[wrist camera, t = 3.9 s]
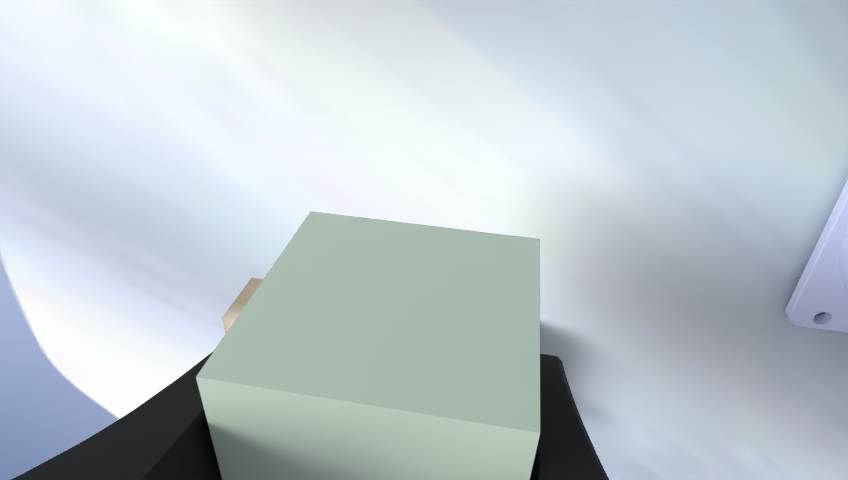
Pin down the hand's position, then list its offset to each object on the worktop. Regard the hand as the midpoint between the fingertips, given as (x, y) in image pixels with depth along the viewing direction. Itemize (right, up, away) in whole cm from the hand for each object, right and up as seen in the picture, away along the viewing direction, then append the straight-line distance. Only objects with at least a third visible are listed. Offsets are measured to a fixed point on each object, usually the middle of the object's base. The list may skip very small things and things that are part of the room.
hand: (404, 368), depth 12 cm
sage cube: (0, +1, +1) cm, 2 cm away
